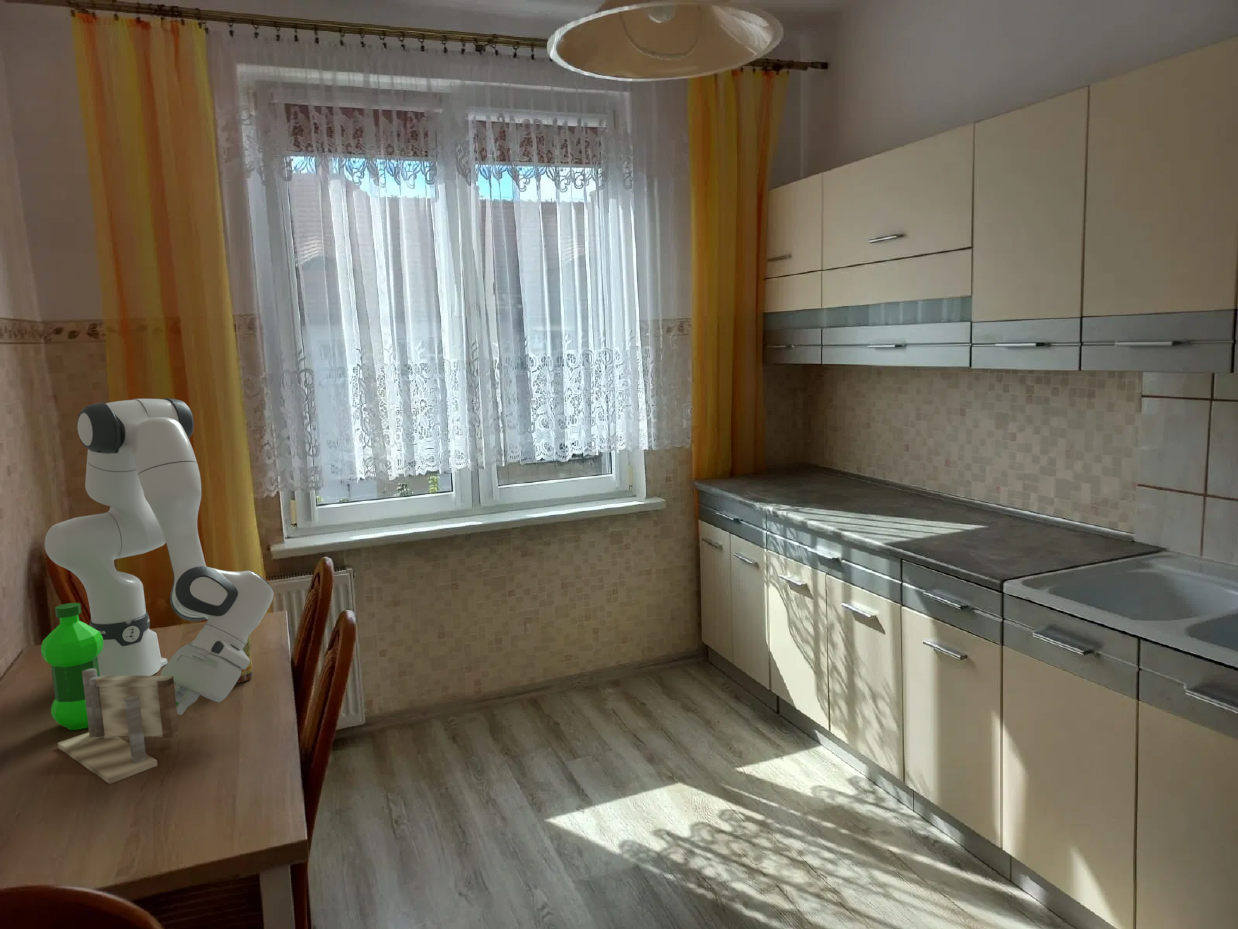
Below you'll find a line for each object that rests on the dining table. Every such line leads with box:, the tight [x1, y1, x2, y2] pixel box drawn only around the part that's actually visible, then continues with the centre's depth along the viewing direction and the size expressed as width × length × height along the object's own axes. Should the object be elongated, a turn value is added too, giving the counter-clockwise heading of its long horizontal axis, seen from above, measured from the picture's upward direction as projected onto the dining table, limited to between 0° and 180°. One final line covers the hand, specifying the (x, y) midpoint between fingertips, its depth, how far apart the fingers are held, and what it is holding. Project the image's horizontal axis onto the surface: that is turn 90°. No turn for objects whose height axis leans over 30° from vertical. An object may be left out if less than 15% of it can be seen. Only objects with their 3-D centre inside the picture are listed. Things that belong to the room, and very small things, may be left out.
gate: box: [89, 675, 180, 739], centre depth 161 cm, size 16×2×12 cm, turn 85°
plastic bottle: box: [40, 602, 103, 731], centre depth 170 cm, size 10×10×25 cm
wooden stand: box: [57, 668, 158, 785], centre depth 156 cm, size 24×8×14 cm, turn 52°
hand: (173, 712), depth 163 cm, fingers closed
